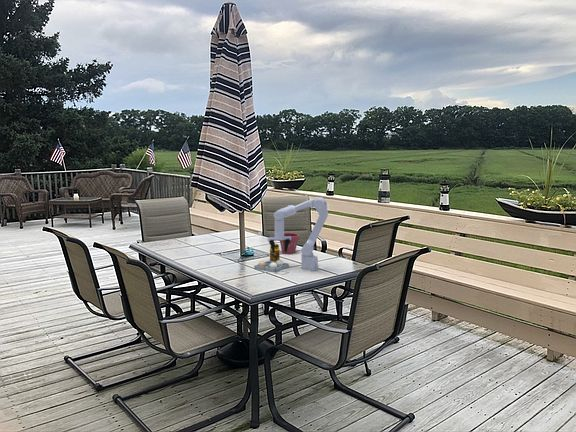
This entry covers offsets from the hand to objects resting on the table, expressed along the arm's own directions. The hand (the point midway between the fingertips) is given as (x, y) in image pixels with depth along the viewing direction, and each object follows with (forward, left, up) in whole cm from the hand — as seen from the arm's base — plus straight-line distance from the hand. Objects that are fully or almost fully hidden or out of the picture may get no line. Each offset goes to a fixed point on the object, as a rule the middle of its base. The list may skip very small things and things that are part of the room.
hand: (279, 252), depth 283 cm
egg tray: (+2, +5, -10) cm, 11 cm away
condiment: (+10, -9, -10) cm, 17 cm away
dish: (-8, +11, -10) cm, 17 cm away
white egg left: (-1, +8, -9) cm, 12 cm away
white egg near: (-1, +2, -9) cm, 9 cm away
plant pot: (+17, -39, -10) cm, 44 cm away
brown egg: (+6, +8, -9) cm, 14 cm away
